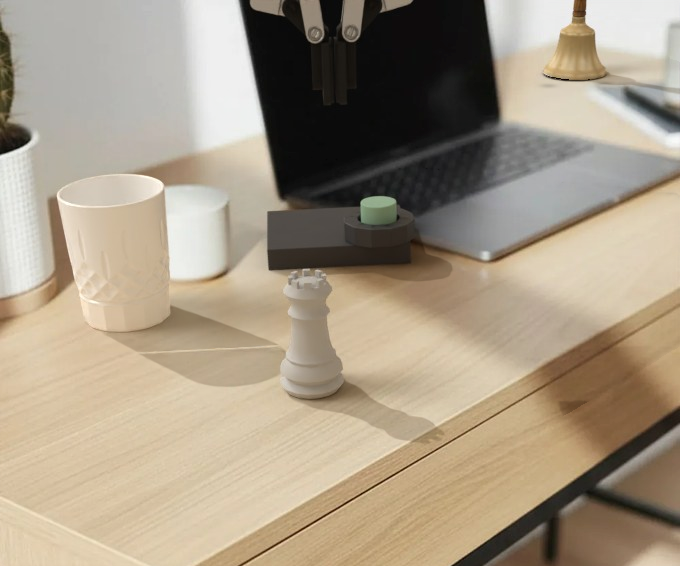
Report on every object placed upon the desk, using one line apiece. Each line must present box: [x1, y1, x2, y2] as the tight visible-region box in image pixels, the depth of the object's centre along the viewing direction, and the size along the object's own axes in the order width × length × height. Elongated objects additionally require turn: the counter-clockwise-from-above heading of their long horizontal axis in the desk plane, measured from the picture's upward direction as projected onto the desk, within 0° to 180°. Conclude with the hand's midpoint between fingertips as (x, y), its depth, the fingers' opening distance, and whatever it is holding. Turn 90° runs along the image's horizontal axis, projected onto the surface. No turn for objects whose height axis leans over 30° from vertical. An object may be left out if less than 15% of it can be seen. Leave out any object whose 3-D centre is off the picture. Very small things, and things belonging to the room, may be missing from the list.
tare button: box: [360, 195, 397, 225], centre depth 101 cm, size 3×3×2 cm
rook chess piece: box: [279, 268, 345, 400], centre depth 80 cm, size 4×4×8 cm
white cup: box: [56, 173, 171, 333], centre depth 91 cm, size 8×8×10 cm
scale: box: [266, 204, 416, 271], centre depth 104 cm, size 12×11×4 cm
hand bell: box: [542, 0, 607, 81], centre depth 153 cm, size 8×8×16 cm
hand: (334, 99), depth 82 cm, fingers closed
